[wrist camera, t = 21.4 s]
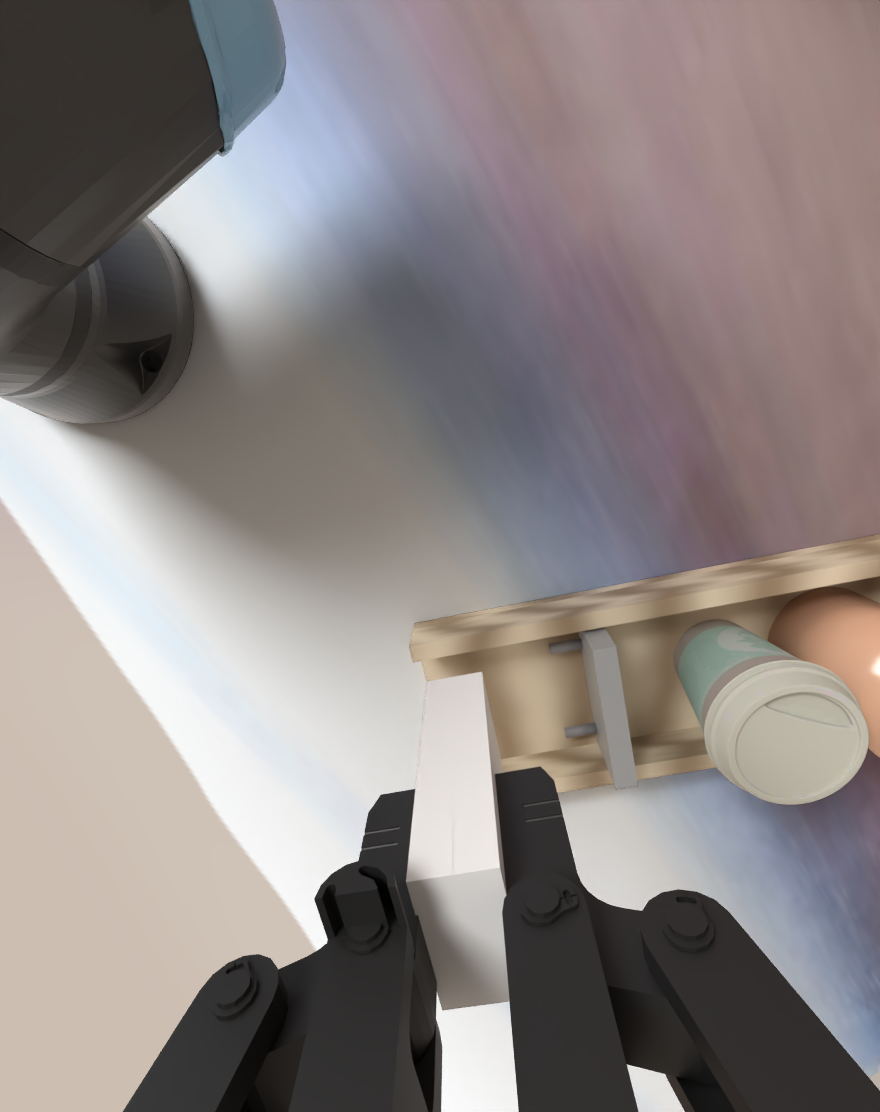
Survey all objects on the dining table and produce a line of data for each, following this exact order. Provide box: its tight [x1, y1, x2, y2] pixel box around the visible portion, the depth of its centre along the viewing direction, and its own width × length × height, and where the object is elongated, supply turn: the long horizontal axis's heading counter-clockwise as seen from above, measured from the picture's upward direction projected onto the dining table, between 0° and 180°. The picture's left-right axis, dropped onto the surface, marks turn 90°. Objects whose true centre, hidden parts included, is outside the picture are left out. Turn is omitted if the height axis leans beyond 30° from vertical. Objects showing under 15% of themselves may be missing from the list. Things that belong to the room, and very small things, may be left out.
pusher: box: [548, 627, 638, 789], centre depth 42 cm, size 4×10×6 cm, turn 12°
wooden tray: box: [409, 534, 880, 793], centre depth 42 cm, size 35×13×6 cm, turn 102°
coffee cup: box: [673, 619, 869, 805], centre depth 38 cm, size 8×8×12 cm
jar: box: [768, 587, 880, 757], centre depth 38 cm, size 8×8×10 cm
